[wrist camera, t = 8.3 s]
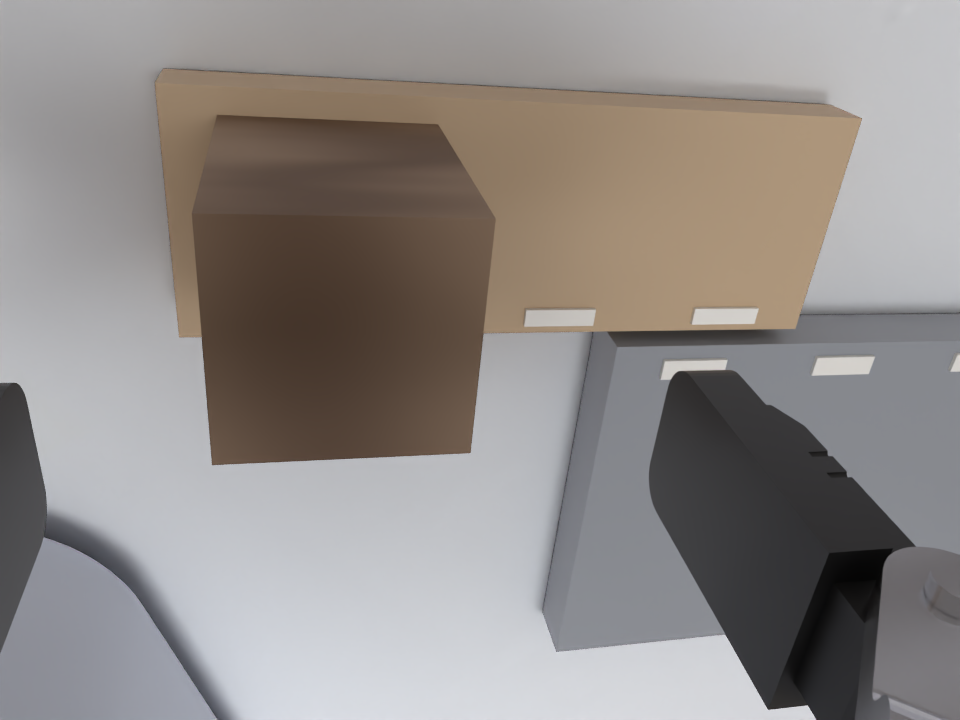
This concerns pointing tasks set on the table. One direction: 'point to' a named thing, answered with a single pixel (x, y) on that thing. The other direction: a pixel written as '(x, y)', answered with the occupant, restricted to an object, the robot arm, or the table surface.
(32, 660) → the plastic bottle
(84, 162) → the table surface
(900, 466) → the board
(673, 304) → the strip
